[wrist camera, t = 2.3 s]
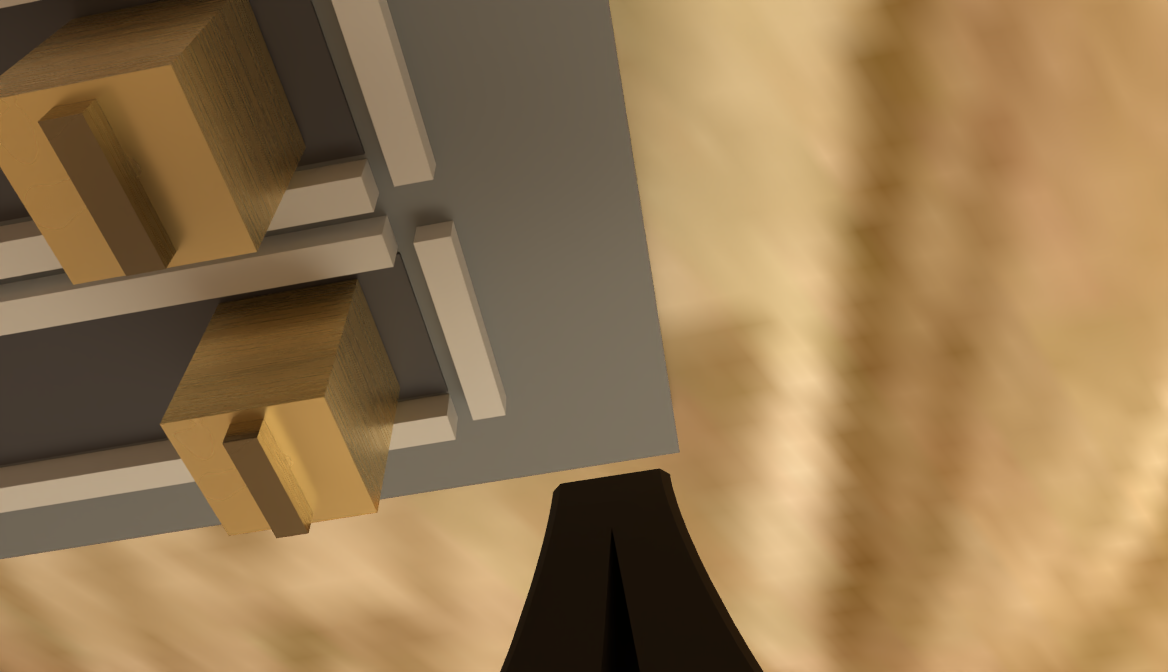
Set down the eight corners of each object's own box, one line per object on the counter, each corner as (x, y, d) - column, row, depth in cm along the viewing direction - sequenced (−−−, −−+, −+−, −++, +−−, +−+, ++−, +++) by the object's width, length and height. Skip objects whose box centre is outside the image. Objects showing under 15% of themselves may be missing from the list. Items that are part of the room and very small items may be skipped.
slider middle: (306, 146, 14) (249, 270, 11) (153, 175, 14) (59, 302, 11) (242, -16, 12) (157, 78, 10) (73, 18, 12) (-58, 120, 10)
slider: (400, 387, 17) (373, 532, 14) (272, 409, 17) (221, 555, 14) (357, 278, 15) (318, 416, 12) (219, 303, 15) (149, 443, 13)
